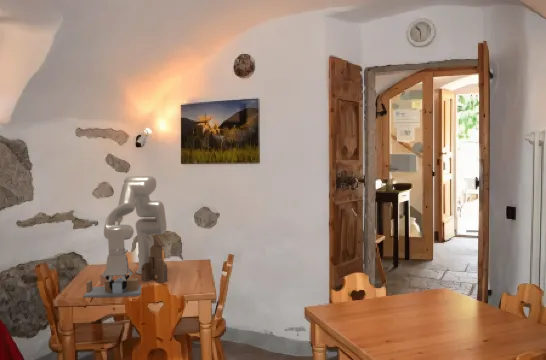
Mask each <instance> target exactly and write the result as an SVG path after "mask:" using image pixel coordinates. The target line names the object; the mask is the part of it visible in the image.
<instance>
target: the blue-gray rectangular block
mask: <svg viewBox="0 0 546 360" xmlns="http://www.w3.org/2000/svg"><path fill="white" fill-rule="evenodd" d="M128 279H129V278H128ZM128 279H127V280H128ZM127 280H126V281H127ZM112 288H113V294H116V293H123V292H124V290H125V289H126V288H127V287H126V288H125V289H123V277H122V276H117V278H116V279H114V282H113V283H112Z"/></svg>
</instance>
